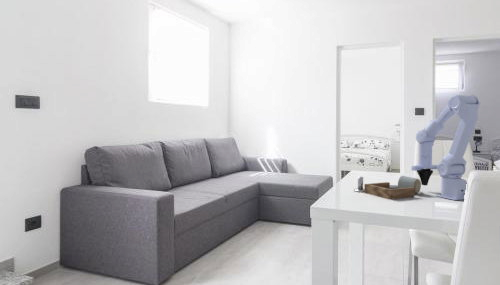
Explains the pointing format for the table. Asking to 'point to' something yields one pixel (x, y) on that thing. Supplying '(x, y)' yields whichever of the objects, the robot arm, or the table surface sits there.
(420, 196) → the table surface
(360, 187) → the stand post
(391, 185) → the coaster
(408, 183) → the ceramic mug
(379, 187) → the wooden tray
